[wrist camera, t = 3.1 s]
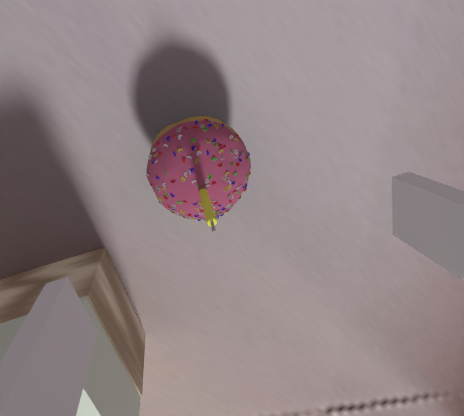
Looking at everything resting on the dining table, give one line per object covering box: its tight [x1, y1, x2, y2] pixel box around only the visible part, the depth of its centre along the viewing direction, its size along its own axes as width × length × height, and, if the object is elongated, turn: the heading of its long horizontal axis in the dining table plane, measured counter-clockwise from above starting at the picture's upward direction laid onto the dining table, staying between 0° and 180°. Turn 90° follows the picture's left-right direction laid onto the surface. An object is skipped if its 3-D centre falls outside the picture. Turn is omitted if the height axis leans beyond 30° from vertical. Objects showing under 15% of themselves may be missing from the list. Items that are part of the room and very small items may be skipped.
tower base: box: [0, 247, 145, 396], centre depth 29 cm, size 12×12×8 cm
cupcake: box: [147, 116, 251, 233], centre depth 24 cm, size 9×8×12 cm
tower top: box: [0, 296, 140, 416], centre depth 23 cm, size 12×12×6 cm
